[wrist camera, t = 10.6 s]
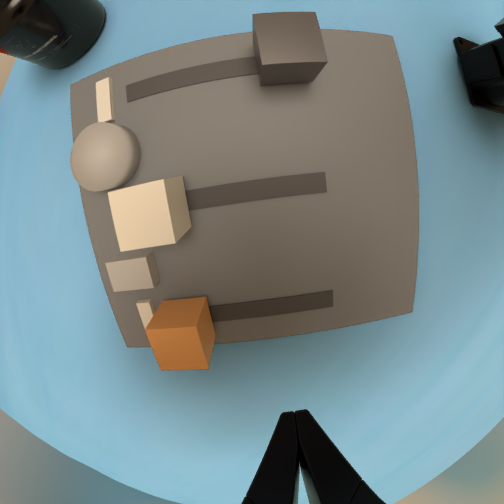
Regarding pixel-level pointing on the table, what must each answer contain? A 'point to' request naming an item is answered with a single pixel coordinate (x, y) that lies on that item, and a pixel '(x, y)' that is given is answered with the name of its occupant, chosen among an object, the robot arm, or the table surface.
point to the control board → (256, 185)
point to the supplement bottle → (49, 29)
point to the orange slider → (182, 334)
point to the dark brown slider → (288, 47)
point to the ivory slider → (150, 213)
